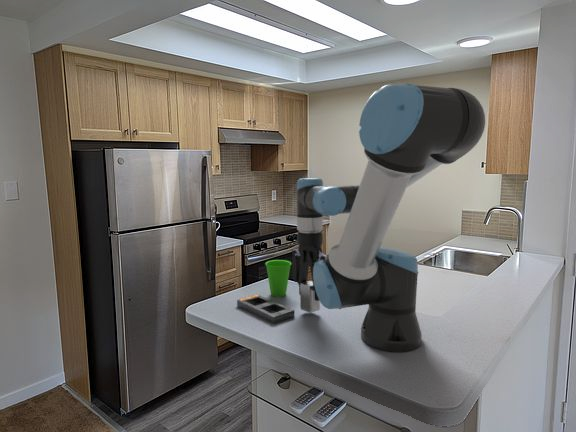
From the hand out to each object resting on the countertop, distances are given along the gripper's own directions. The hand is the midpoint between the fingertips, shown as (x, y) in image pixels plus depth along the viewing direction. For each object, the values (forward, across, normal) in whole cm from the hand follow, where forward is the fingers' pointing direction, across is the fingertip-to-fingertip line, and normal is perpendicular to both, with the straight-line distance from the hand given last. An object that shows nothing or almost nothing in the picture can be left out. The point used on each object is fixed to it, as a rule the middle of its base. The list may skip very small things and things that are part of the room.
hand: (309, 308), depth 117 cm
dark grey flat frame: (+2, +11, +9) cm, 14 cm away
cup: (+2, +20, -4) cm, 20 cm away
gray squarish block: (0, 0, 0) cm, 0 cm away
